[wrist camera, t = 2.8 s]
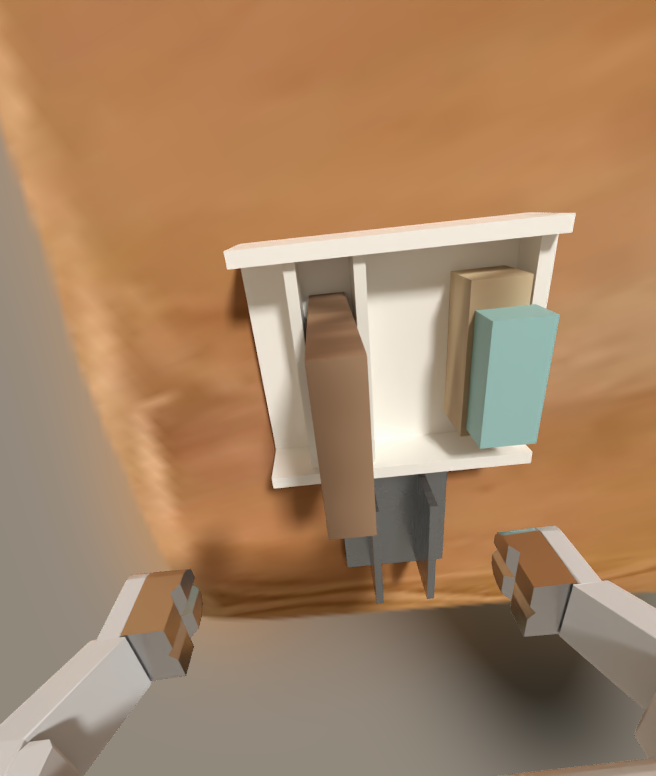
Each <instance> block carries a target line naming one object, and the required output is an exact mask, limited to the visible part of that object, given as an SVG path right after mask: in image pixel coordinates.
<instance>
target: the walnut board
mask: <svg viewBox="0 0 656 776" xmlns="http://www.w3.org/2000/svg"><path fill="white" fill-rule="evenodd" d="M304 362H305V369H306V376H307V384H308V391H309V398H310V406H311V413H312V420H313V428H314V435H315V442H316V450H317V457H318V464H319V471H320V479H321V486H322V493H323V501H324V508H325V515H326V523H327V530H328V537H329V540H335V539H345V538H355V537H365V536H375V535H377V527H376V509H375V491H374V472H373V454H372V436H371V418H370V399H369V381H368V363H367V353H366V351H365V348H364V345H363V342H362V340H361V337H360V334H359V331H358V329H357V326H356V323H355V321H354V318H353V315H352V312H351V310H350V307H349V304H348V301H347V299H346V296H345V293H344V292H337V293H327V294H318V295H309V299H308V314H307V330H306V345H305V361H304Z"/></svg>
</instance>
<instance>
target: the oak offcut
mask: <svg viewBox="0 0 656 776" xmlns="http://www.w3.org/2000/svg"><path fill="white" fill-rule="evenodd" d="M533 278H534V274H533V273H529V272H526V271H523V270H519V269H516V268H512V267H509V266H505V265H503V266H494V267H485V268H475V269H466V270H457V271H451V276H450V297H449V318H448V339H447V360H446V380H445V401H444V412H445V414H446V415H447V417H448V418H449V420H450V421H451V423H452V424H453V426H454V428H455V429H456V431H457V432H458V434H459V435H460V436H470V434H469V432H468V431H467V430H466V422H467V409H468V397H469V384H470V372H471V359H472V347H473V335H474V322H475V311H476V310H485V309H495V308H504V307H514V306H523V305H530V298H531V291H532V285H533Z"/></svg>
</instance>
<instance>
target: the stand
mask: <svg viewBox="0 0 656 776" xmlns="http://www.w3.org/2000/svg"><path fill="white" fill-rule="evenodd" d="M446 480H447V471H444V472H434V473H424V474H414V475H404V476H394V477H384V478H374V491H375V509H376V527H377V535H375V536H365V537H355V538H345V548H346V557H347V566H348V567H357V566H368V565H371V570H372V577H373V583H374V589H375V595H376V602H377V604H378V603H384V601H383V581H382V564H388V563H399V562H409V561H416V562H417V566H418V569H419V573H420V576H421V580H422V583H423V586H424V590H425V593H426V597H427V599H430V598H434V585H435V563H436V559H440V558H442V550H443V533H444V515H445V498H446Z"/></svg>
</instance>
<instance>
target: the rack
mask: <svg viewBox="0 0 656 776" xmlns="http://www.w3.org/2000/svg"><path fill="white" fill-rule="evenodd" d="M575 214H576V213H520V214H510V215H501V216H492V217H483V218H474V219H465V220H455V221H446V222H437V223H428V224H419V225H409V226H400V227H391V228H382V229H373V230H364V231H354V232H345V233H336V234H327V235H318V236H309V237H299V238H290V239H281V240H272V241H263V242H253V243H244V244H239V245H236V246H234V247H232V248H230V249H228V250H225V251H224V256H225V261H226V266H227V270H228V269H237V268H241V273H242V278H243V283H244V288H245V293H246V298H247V304H248V309H249V314H250V319H251V324H252V329H253V334H254V339H255V344H256V349H257V355H258V360H259V365H260V370H261V375H262V380H263V385H264V390H265V395H266V400H267V406H268V411H269V416H270V421H271V426H272V431H273V436H274V441H275V446H276V454H275V460H274V466H273V473H272V483H273V488H284V487H294V486H304V485H314V484H321V479H320V471H319V464H318V457H317V450H316V442H315V435H314V428H313V420H312V413H311V406H310V398H309V391H308V384H307V376H306V369H305V362H304V361H305V345H306V330H307V314H308V299H309V295H318V294H327V293H337V292H344V293H345V296H346V299H347V301H348V304H349V307H350V310H351V312H352V315H353V318H354V321H355V323H356V326H357V329H358V331H359V334H360V337H361V340H362V342H363V345H364V348H365V351H366V353H367V363H368V381H369V399H370V418H371V436H372V454H373V472H374V478H384V477H394V476H404V475H414V474H424V473H434V472H444V471H454V470H464V469H474V468H484V467H494V466H504V465H514V464H524V463H531V457H532V451H531V450H530V449H529V448H528V447H527V446H526V445H525V444H524V445H514V446H504V447H494V448H484V449H480V448H479V447H478V445H477V444H476V443H475V441H474V440H473V438H472V437H471V435H470V436H460V435H459V434H458V432H457V431H456V429H455V428H454V426H453V424H452V423H451V421H450V420H449V418H448V417H447V415H446V414H445V412H444V401H445V380H446V360H447V339H448V318H449V297H450V276H451V271H457V270H466V269H475V268H485V267H494V266H503V265H505V266H509V267H512V268H516V269H519V270H523V271H526V272H529V273H533V274H534V278H533V285H532V291H531V298H530V305H532V304H536V305H539V306H541V307H543V308H546V307H547V301H548V295H549V289H550V283H551V277H552V271H553V265H554V259H555V253H556V247H557V241H558V235H559V234H560V233H570V232H572V231H573V225H574V220H575Z"/></svg>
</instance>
